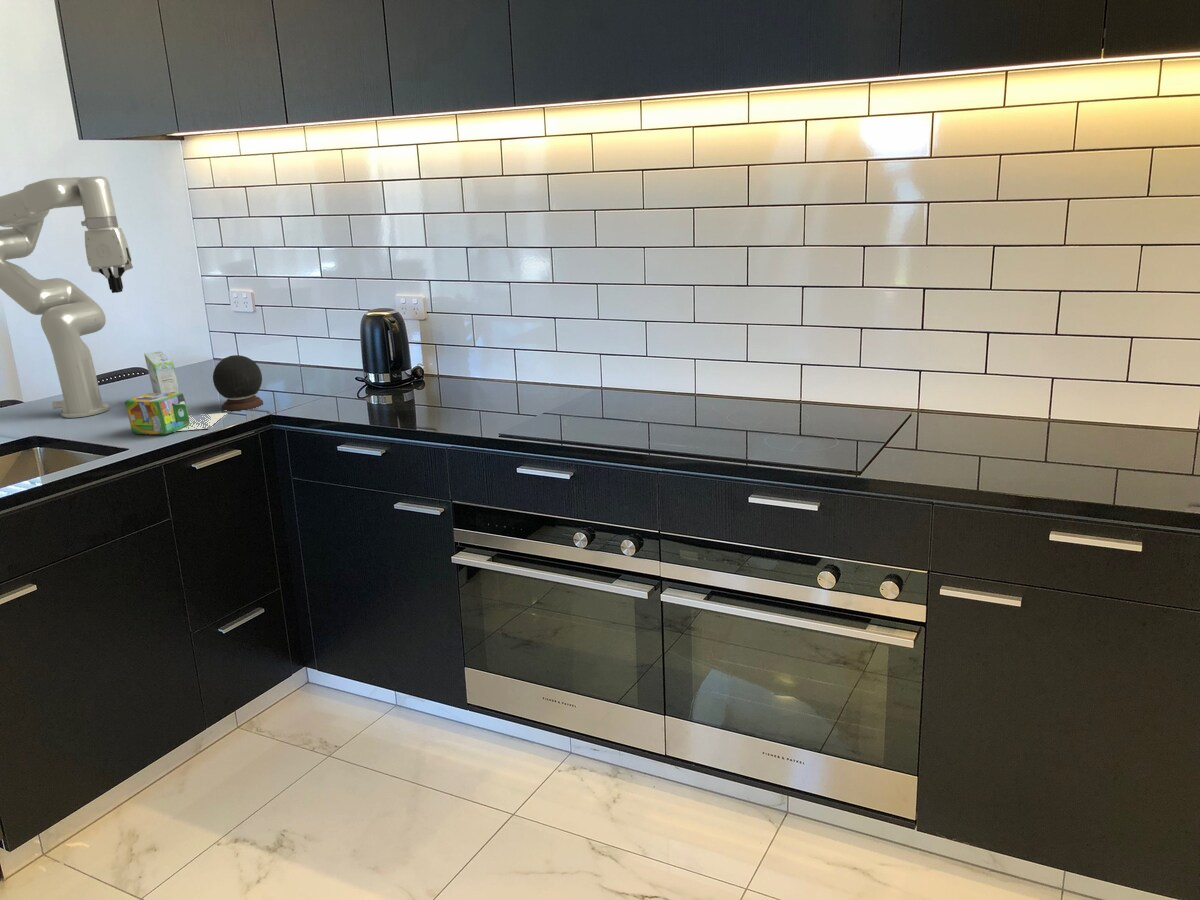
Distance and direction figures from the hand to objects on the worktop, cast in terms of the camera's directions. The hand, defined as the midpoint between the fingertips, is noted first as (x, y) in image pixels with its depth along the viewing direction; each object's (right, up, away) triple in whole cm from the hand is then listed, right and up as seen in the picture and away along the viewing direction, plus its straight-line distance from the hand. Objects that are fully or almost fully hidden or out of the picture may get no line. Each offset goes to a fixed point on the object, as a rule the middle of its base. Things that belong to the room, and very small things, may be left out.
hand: (117, 292), depth 255 cm
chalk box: (+11, -34, -9) cm, 37 cm away
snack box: (+6, -31, +19) cm, 37 cm away
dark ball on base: (+30, -31, +12) cm, 45 cm away
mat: (+21, -37, -4) cm, 43 cm away
